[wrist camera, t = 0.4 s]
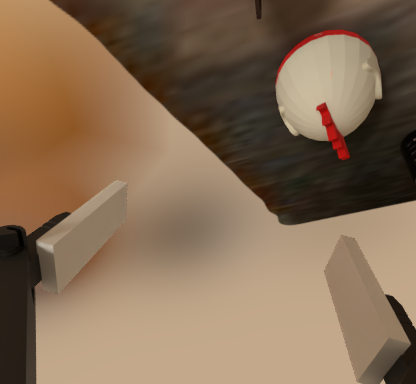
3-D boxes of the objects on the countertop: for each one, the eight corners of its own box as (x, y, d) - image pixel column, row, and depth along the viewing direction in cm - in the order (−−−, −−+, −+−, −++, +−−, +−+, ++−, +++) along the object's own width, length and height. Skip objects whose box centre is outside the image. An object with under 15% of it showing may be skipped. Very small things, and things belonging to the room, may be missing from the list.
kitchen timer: (299, 131, 48) (303, 195, 39) (259, 68, 41) (252, 128, 32) (387, 91, 40) (420, 159, 31) (357, 5, 33) (387, 60, 24)
